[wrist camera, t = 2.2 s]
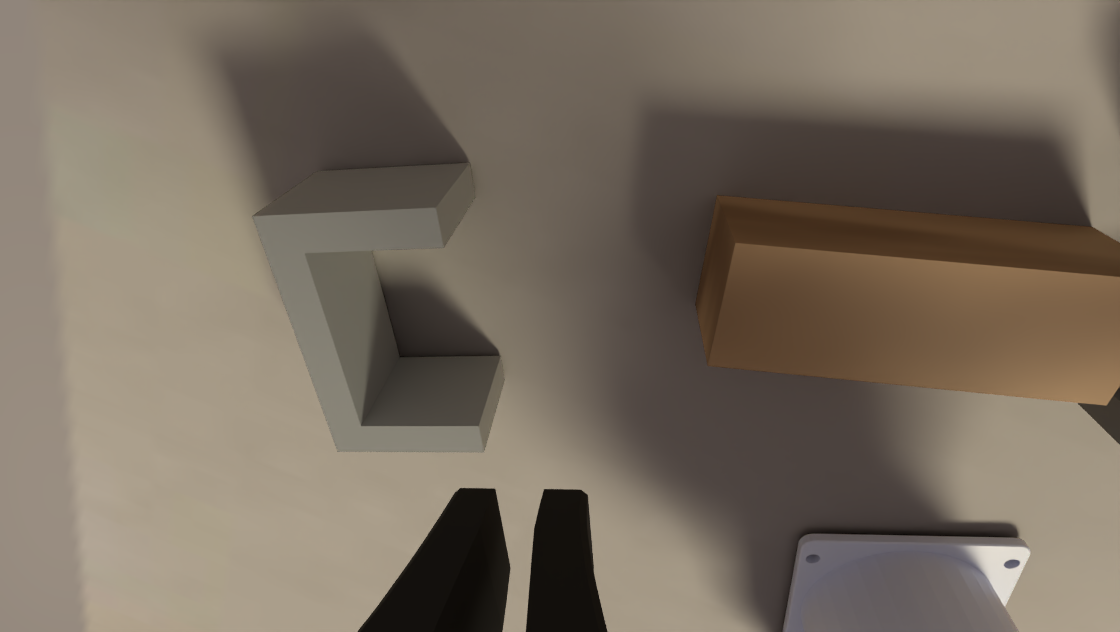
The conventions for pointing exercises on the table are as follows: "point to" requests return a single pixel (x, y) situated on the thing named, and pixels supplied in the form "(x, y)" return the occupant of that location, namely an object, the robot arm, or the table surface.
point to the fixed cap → (1107, 415)
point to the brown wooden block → (912, 299)
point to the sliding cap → (375, 307)
